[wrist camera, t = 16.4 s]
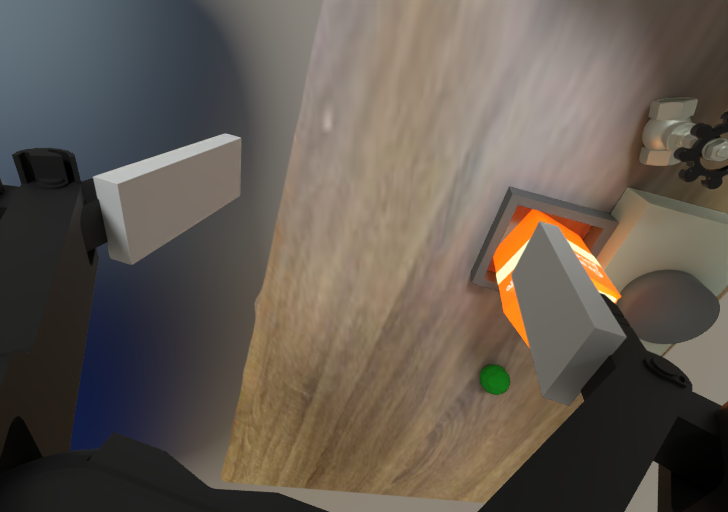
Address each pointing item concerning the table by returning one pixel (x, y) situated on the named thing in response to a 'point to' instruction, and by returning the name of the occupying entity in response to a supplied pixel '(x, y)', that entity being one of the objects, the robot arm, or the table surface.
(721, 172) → the valve
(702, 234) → the grey boxy fixture
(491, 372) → the polyhedron
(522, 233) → the orange juice
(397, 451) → the table surface
